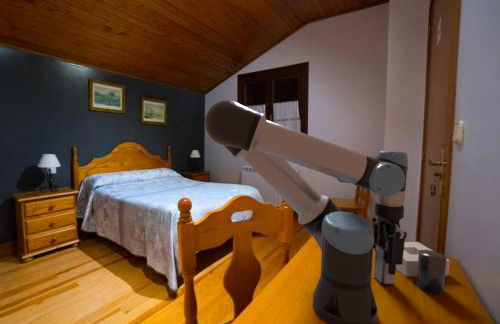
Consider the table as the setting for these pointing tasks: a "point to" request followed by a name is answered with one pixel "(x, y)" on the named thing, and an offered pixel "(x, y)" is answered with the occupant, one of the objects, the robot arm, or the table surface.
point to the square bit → (380, 262)
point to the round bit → (431, 272)
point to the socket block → (414, 259)
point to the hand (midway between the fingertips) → (384, 278)
